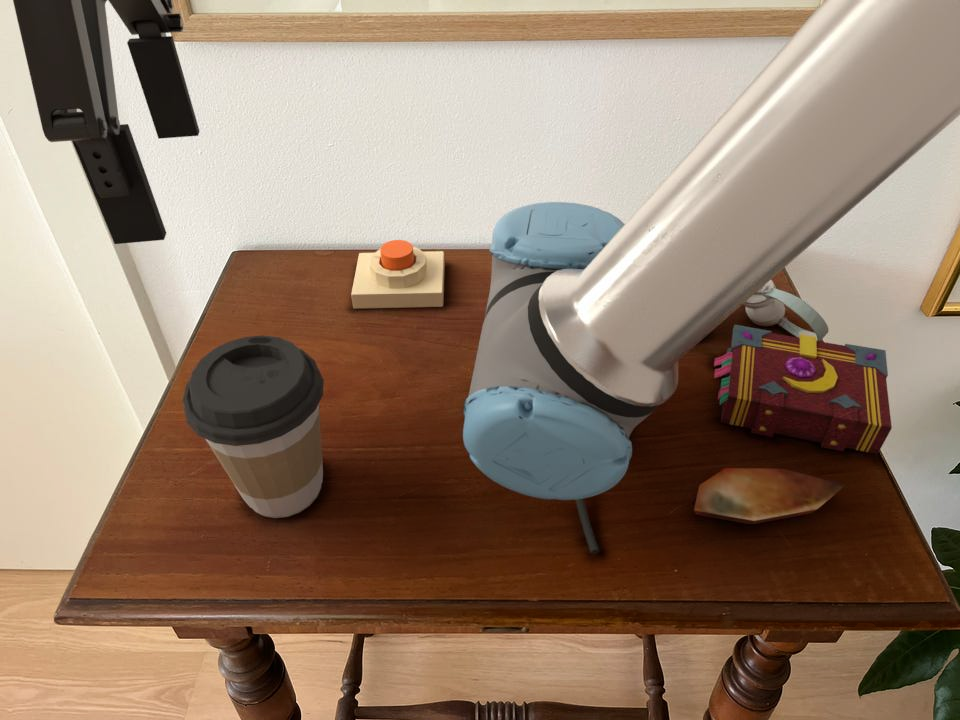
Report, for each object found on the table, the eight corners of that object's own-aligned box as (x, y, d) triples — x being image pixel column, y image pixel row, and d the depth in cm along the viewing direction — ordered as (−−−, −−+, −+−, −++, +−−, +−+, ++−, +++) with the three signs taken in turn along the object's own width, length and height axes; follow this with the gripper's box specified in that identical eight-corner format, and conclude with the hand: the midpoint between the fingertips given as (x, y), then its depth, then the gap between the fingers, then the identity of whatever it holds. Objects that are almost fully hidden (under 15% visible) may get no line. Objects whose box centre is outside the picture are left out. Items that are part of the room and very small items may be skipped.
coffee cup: (353, 442, 72) (330, 326, 62) (333, 539, 64) (302, 424, 54) (241, 441, 73) (200, 326, 63) (206, 537, 64) (152, 422, 54)
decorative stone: (864, 517, 62) (853, 542, 63) (842, 473, 66) (832, 498, 68) (697, 502, 62) (691, 527, 64) (687, 460, 67) (682, 484, 69)
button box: (444, 265, 95) (443, 239, 93) (443, 306, 89) (441, 280, 86) (361, 266, 95) (357, 240, 93) (353, 308, 89) (349, 282, 86)
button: (415, 253, 91) (413, 239, 90) (413, 271, 88) (412, 257, 87) (383, 253, 91) (381, 239, 90) (380, 272, 88) (378, 258, 87)
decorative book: (878, 460, 70) (896, 425, 66) (706, 425, 74) (715, 391, 70) (870, 380, 78) (887, 345, 74) (715, 352, 82) (724, 318, 78)
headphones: (709, 270, 95) (843, 336, 80) (688, 293, 95) (819, 363, 80) (687, 232, 89) (826, 296, 75) (665, 256, 89) (801, 325, 75)
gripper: (16, -263, 41) (140, 106, 55) (-246, -239, 22) (41, 305, 37) (154, -265, 41) (241, 99, 56) (9, -245, 23) (194, 291, 37)
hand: (162, 181), depth 46 cm, fingers open, 13 cm apart
